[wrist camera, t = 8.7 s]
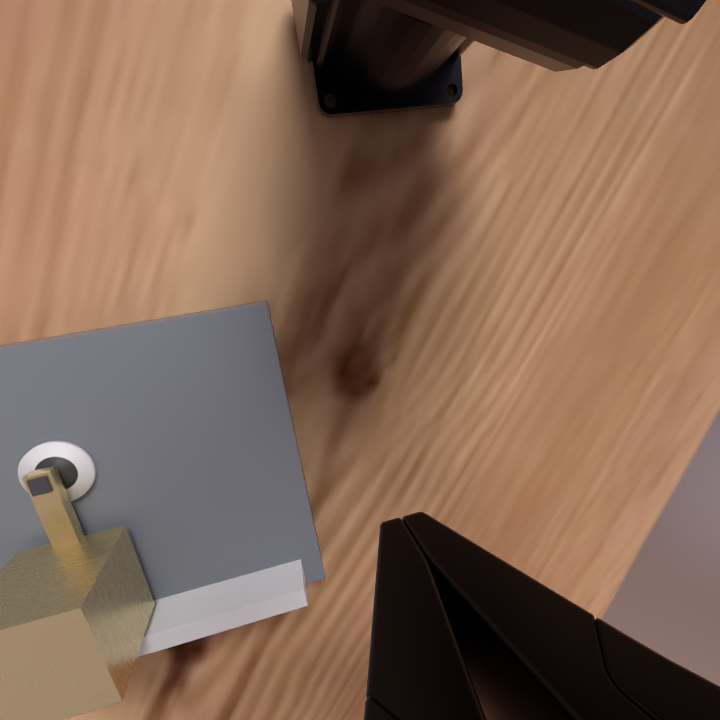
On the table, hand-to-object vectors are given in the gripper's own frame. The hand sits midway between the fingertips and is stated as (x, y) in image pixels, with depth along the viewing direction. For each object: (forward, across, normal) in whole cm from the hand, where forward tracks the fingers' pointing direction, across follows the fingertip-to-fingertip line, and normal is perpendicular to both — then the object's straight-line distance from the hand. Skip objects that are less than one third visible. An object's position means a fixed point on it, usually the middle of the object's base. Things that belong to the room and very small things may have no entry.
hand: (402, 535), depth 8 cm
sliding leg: (+11, +12, +5) cm, 17 cm away
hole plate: (+13, +14, +4) cm, 19 cm away
